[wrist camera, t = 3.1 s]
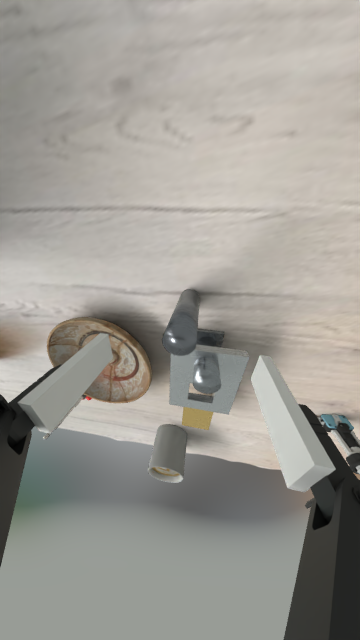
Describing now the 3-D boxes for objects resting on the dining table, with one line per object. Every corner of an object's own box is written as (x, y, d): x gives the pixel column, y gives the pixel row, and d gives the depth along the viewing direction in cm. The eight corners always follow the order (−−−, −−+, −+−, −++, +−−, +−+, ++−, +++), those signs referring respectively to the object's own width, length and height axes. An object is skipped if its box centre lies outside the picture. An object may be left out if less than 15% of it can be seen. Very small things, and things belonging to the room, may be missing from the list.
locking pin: (180, 288, 25) (162, 325, 14) (200, 290, 25) (198, 329, 13) (179, 306, 27) (162, 353, 15) (198, 308, 26) (194, 357, 15)
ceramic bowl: (177, 361, 33) (174, 379, 29) (121, 396, 43) (112, 414, 39) (93, 286, 27) (72, 294, 23) (50, 347, 37) (30, 360, 33)
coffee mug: (156, 422, 46) (145, 463, 38) (187, 427, 45) (183, 471, 37) (158, 442, 53) (149, 482, 44) (185, 447, 52) (182, 489, 43)
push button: (308, 422, 36) (342, 479, 27) (315, 409, 34) (354, 467, 25) (340, 424, 35) (386, 485, 26) (349, 411, 33) (402, 472, 24)
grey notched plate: (177, 326, 29) (165, 362, 20) (239, 333, 27) (256, 376, 19) (173, 396, 39) (165, 440, 30) (219, 404, 38) (223, 452, 29)
